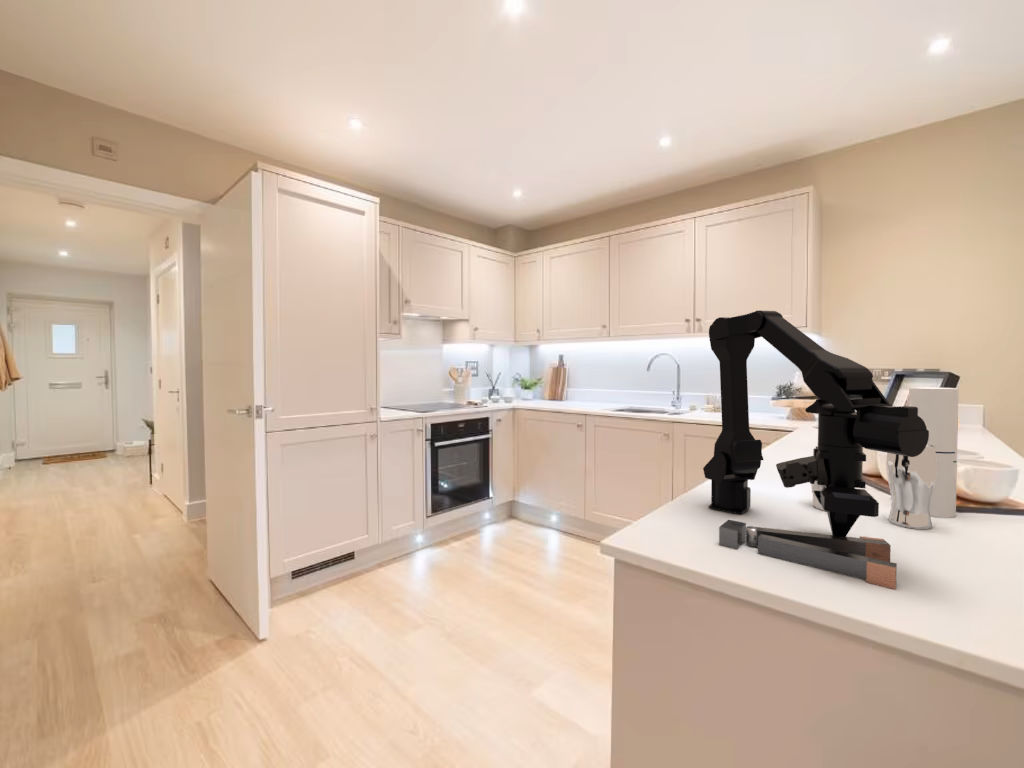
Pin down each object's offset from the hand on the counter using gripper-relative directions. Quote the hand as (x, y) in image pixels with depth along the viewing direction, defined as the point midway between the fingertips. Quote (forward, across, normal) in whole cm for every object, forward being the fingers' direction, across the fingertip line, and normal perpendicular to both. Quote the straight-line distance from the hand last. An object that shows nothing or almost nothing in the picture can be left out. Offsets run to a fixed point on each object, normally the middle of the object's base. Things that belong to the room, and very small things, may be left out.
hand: (837, 541), depth 70 cm
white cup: (+2, -26, +3) cm, 26 cm away
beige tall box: (+2, -32, +20) cm, 38 cm away
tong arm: (+1, +2, -3) cm, 4 cm away
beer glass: (+2, -21, +14) cm, 25 cm away
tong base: (+2, +6, -6) cm, 8 cm away
